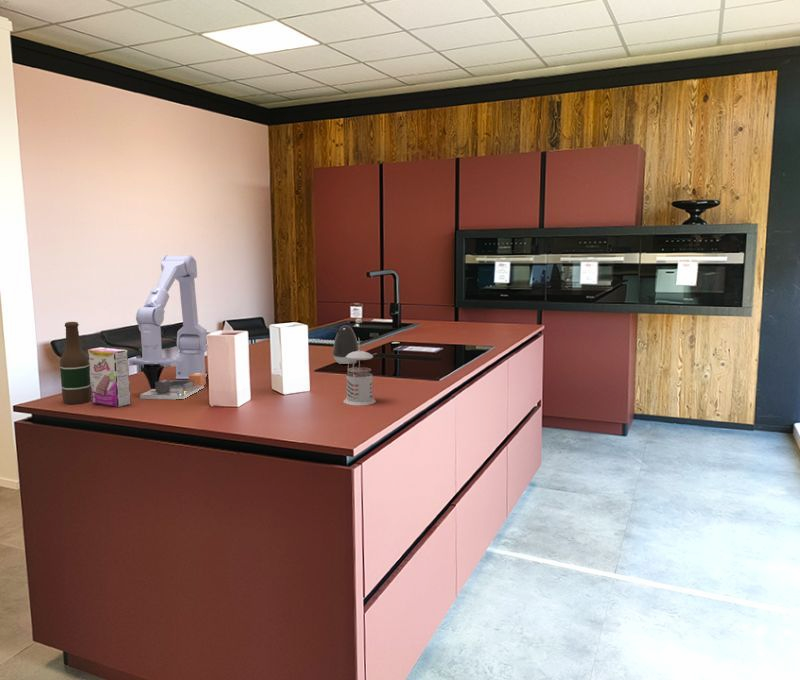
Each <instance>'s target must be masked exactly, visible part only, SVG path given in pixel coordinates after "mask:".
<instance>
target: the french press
mask: <svg viewBox="0 0 800 680" xmlns="http://www.w3.org/2000/svg"><path fill="white" fill-rule="evenodd" d="M355 323H357V324H360V323H361V324H362V323H363V320H362V319H361V318H356V319H355ZM360 343H361V342H360V339H358V348H359V350H358V351H355V352H351V353H349V354H348V355H347V356H346V358H347V359H350V360H351V363H352V360H354V362H355V360H356V362H355V363H354V362H353V363H352V364H351V365H352V367H350V365H349V363H348V365H347V370H346V371H347V374H346V392H347V393H346V398H345V399H344V400H343V403H344V404H345V403H346V405H348V404H349V405H350V406H367V405H373V404H375V403H376V402H377V401H376V399H375V398H374V395H373V394H374V393H373V392H374V391H373V389H374V388H373V384H374V383H373V380H374V379H373V373H371V371H372V369H371V368H370V367H361V361H366V360H371V359H373V357H374V355H372V354H371V353H369V352H367V351H363V350H361V349H360V346H361V345H360ZM350 360H349V362H350ZM357 363H358V366H355V364H357ZM349 367H350V368H349ZM354 385H355V386H354Z"/></svg>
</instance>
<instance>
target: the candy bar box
mask: <svg viewBox="0 0 800 680" xmlns="http://www.w3.org/2000/svg"><path fill="white" fill-rule="evenodd" d="M87 354H88V355H87V357H88V361H89V370H90V384H91V404H94V405H95V404H96V405H102V406H107V407H108V406H109V407H115V408H121V407H124V406H128V405H131V403H132V401H131V399H132V398H131V387H130V372H129V371H130V370H129V358H128V357H129V356H128V355H129V354H128V350H126V349H120V348H112V347H111V348H110V347H101V346H100V347H95V348H89V349H87Z"/></svg>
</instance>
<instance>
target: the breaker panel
mask: <svg viewBox="0 0 800 680" xmlns="http://www.w3.org/2000/svg"><path fill="white" fill-rule="evenodd" d="M203 388H204V389H205V386H204V385H194V381H189V380H184V379H176V380H175V379H173V380H172V379H171V380H170V390H169V391H167V392H165V393H161V392H156V390H155V389H149V390H148V391H146V392H143V393H140V394H139V399H143V400H145V399H146V400H176V399H184V400H186V399H188V398H190V397H191V396H190V395H192V394H194V393H196V392H197V393H199V392H200V391H199V390H201V389H203ZM204 389H203V390H204ZM198 391H199V392H198ZM201 391H202V390H201ZM197 393H196V394H197ZM194 395H195V394H194ZM189 396H190V397H189ZM192 396H193V395H192ZM187 397H188V398H187ZM185 398H186V399H185Z"/></svg>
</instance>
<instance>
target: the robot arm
mask: <svg viewBox="0 0 800 680" xmlns="http://www.w3.org/2000/svg"><path fill="white" fill-rule="evenodd" d="M160 270H161V275H160V277H159V280H158V282H157V286H156V287H154V288H152V289H151V290H150V292H149V295H148V297H147V298H146V300H145V303H144V305H143V306H141V307H140V308H138V309H137V310H136V314H135V315H136V316H135V321H136V324H138V330H139V332H140V337H141V338H140V339H141V342H140V343H141V353H142V357H139V358H133V357H132V358H128V367H130V366H143V367H142V368H141V371H142V372H143V374H144V376H145V377H146V379H147V382H148V384H149V388H150V390H152V389H155V382H157V381H159V380H160V378H161V374H162V372H163V371H164V369H165V367H175V375H176V377H175V379H176V380H189V375H191V374H193V373H203V374H205V376H206V378H207V377H208V376H207V374H208V373H206V364H205V363H206V360H205V359H206V358H205V353H206V352H207V351H208V349H207V345H206V336H207V335H208V331H207V329H206V328H205V327H203V326H202V325H200V324H199V318H198V307H197V295H196V294H197V293H196V283H195V279H196V278H198V268H197V260H196V259H195V258H194V256H192V255H167V254H166V255H164V256H163V257H162V258H161V262H160ZM175 280H176V281H178V283H179V284H178V285H179V295H180V296H179V297H180V304H181V315H182V327H181V328H180V329H179V330H178V331H177V335H176V336H177V337H176V347H177V349H178V351H180V352H178V353H177V354H176V355H175V358H173V359H172V358H164V357H163V349H162V348H163V347H162V331H161V325H163V322H164V320H165V308H166V306H167V303H168V301H169V299H170V295H169V293H168V292H169V291H170V289H171V287H172V286H173V284H174V282H175ZM175 379H174V380H175Z"/></svg>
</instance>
